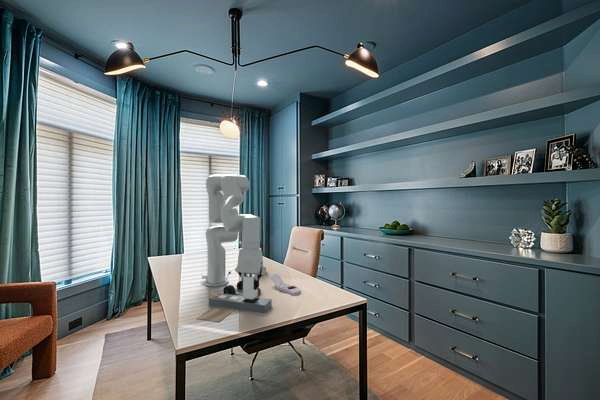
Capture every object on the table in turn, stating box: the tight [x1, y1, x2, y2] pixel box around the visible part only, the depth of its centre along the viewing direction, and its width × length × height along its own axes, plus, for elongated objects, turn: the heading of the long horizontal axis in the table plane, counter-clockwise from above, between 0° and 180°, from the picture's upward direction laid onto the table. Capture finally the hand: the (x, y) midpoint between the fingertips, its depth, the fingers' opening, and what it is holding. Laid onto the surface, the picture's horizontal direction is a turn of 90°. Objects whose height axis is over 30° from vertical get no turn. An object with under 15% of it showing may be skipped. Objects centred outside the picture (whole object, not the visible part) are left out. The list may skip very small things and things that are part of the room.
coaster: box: [195, 307, 234, 323], centre depth 106 cm, size 10×10×1 cm
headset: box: [222, 271, 262, 298], centre depth 131 cm, size 14×10×20 cm
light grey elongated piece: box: [268, 273, 302, 296], centre depth 138 cm, size 6×6×25 cm
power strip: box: [208, 292, 272, 314], centre depth 115 cm, size 26×7×4 cm, turn 74°
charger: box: [242, 273, 259, 299], centre depth 114 cm, size 5×5×11 cm
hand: (250, 287), depth 114 cm, fingers closed on charger, 4 cm apart
